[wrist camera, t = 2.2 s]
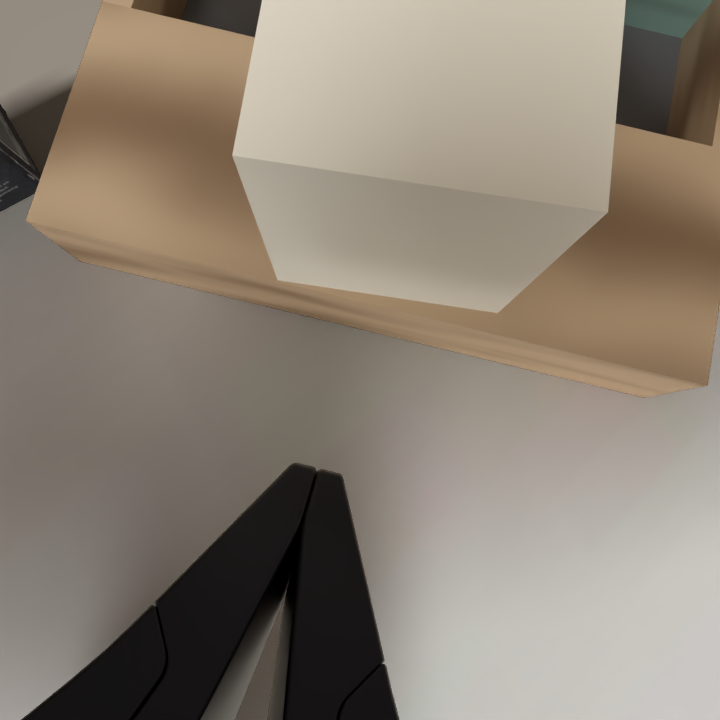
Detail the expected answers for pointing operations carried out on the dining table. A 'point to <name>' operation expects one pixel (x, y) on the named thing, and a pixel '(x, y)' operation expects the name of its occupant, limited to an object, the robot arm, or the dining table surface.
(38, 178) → the small box
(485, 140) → the cream block
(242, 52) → the trap board
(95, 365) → the dining table surface
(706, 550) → the dining table surface
